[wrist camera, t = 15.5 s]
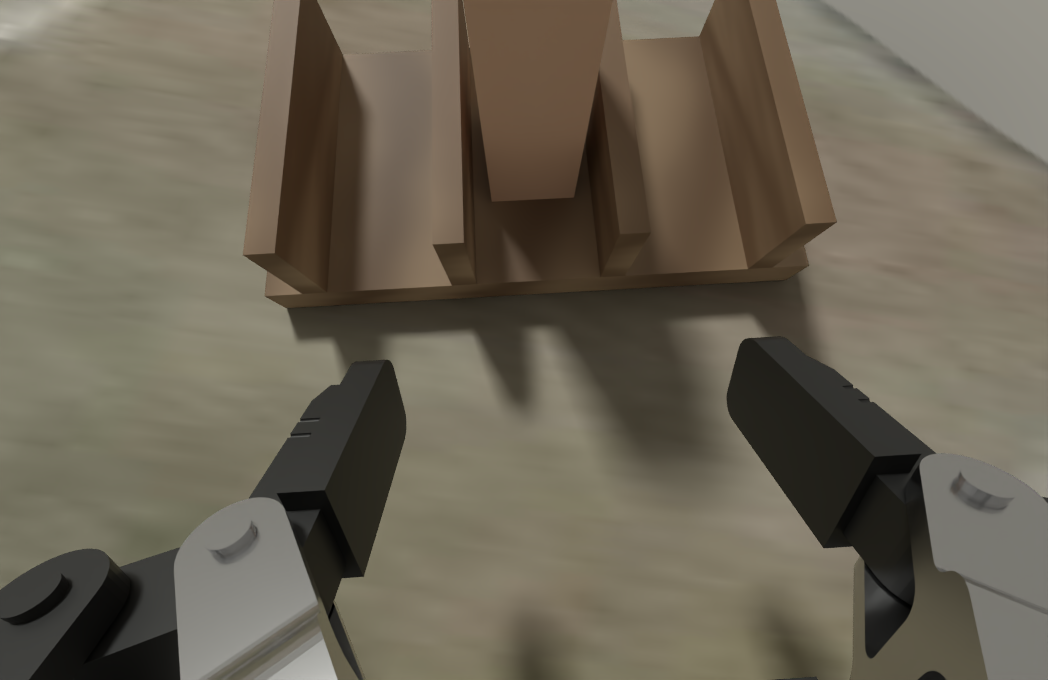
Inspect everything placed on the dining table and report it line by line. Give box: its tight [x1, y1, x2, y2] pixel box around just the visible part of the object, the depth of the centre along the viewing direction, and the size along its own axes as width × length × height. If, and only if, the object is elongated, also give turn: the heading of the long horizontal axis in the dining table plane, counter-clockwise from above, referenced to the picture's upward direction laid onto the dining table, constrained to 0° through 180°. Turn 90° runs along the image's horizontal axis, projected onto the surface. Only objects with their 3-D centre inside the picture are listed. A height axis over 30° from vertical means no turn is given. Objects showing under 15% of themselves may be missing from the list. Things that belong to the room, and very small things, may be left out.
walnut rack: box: [243, 0, 837, 308], centre depth 17 cm, size 22×12×5 cm, turn 93°
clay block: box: [463, 0, 613, 202], centre depth 13 cm, size 4×4×10 cm
